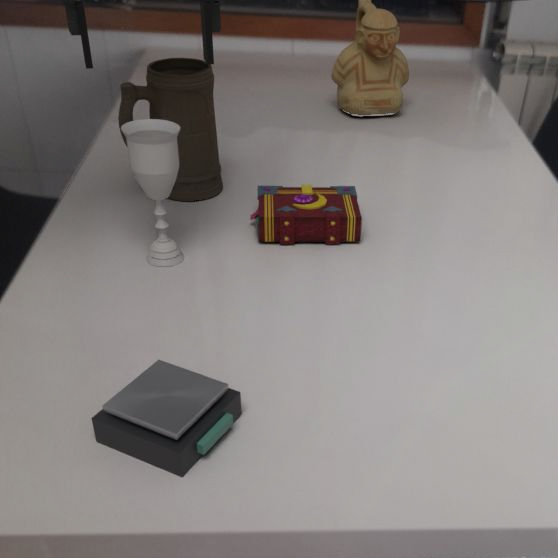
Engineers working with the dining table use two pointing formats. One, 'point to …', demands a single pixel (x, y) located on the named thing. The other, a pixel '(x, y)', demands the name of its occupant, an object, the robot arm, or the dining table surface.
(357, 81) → the ceramic vessel
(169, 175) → the chalice
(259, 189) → the decorative book
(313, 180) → the dining table surface
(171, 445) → the scale
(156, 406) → the scale pan
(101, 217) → the dining table surface
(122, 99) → the beer stein
